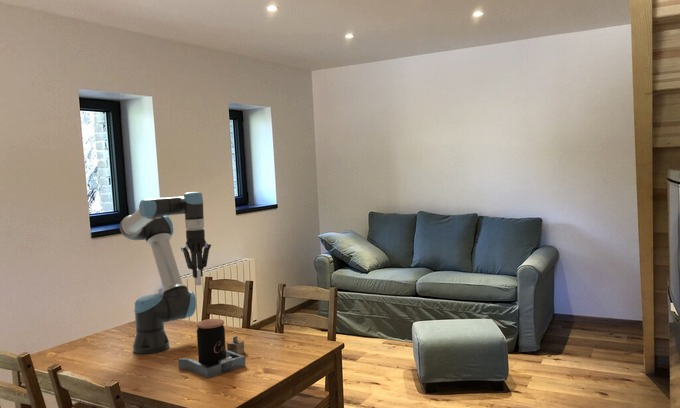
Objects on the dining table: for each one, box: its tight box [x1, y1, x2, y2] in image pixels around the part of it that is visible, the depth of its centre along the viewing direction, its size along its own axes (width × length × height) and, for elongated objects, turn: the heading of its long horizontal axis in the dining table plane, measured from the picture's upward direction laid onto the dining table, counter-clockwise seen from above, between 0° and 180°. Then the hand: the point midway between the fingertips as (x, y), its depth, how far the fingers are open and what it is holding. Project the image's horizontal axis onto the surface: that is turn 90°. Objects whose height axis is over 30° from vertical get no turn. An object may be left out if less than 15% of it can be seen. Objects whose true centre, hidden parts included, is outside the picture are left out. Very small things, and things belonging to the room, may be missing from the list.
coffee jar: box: [195, 318, 227, 366], centre depth 223 cm, size 11×11×18 cm
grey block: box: [226, 335, 245, 355], centre depth 238 cm, size 5×5×7 cm
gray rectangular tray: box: [177, 349, 246, 380], centre depth 223 cm, size 19×21×5 cm
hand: (198, 284), depth 238 cm, fingers closed
